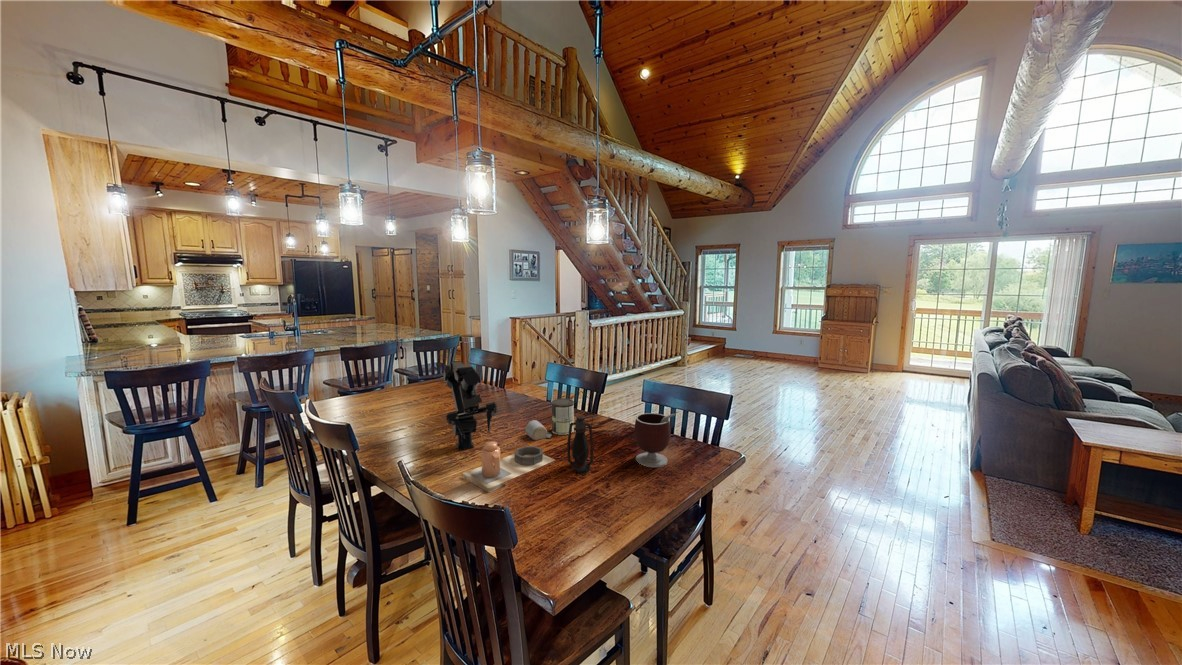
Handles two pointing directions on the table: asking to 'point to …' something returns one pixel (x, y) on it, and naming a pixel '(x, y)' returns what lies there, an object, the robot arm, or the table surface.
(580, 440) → the lantern
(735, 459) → the table surface
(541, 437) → the ceramic mug
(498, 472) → the peach jug
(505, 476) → the board
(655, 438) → the mate gourd
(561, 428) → the coffee can
